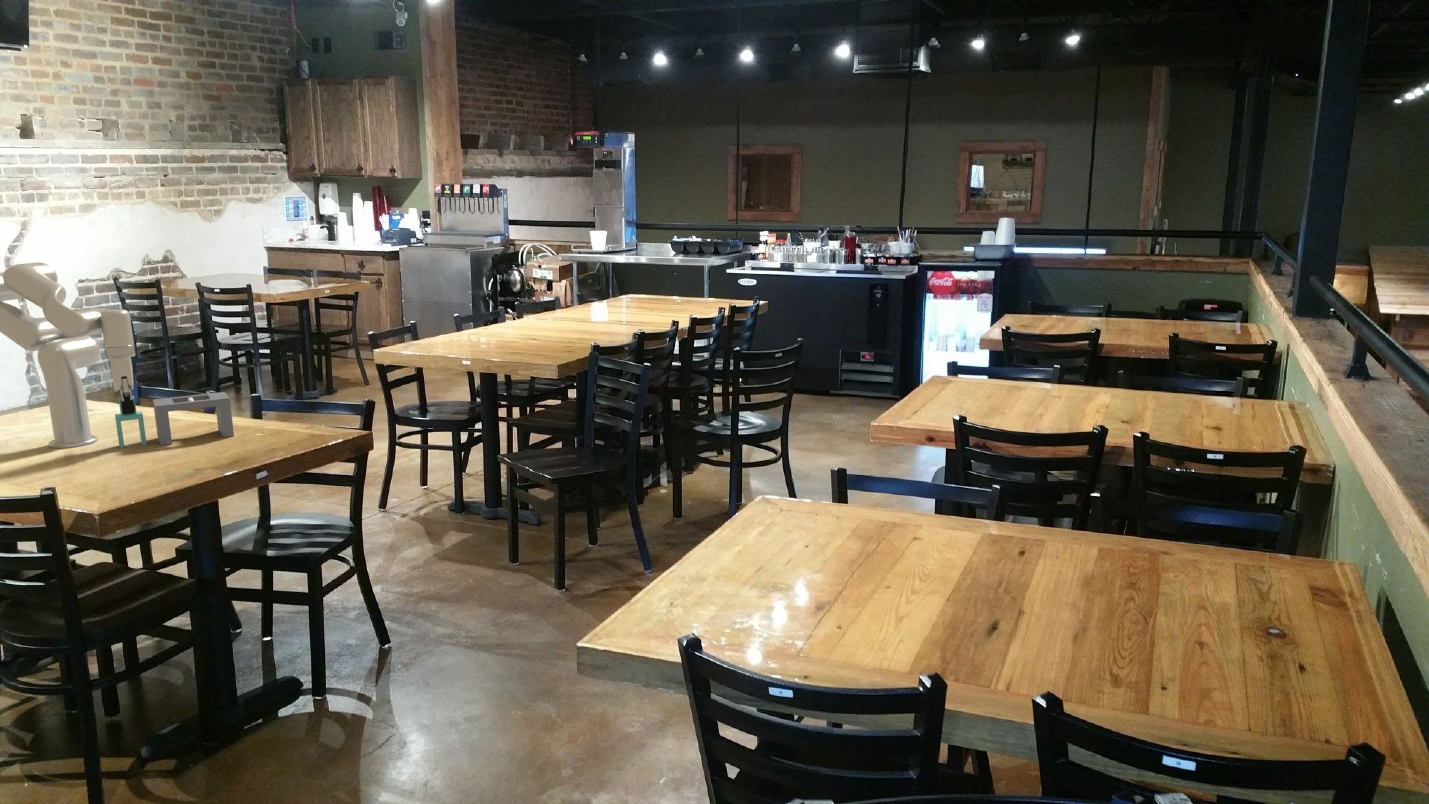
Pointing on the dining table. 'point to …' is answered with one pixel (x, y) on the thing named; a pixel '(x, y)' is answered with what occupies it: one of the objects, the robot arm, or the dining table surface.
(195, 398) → the grey table arch
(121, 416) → the teal arch frame
